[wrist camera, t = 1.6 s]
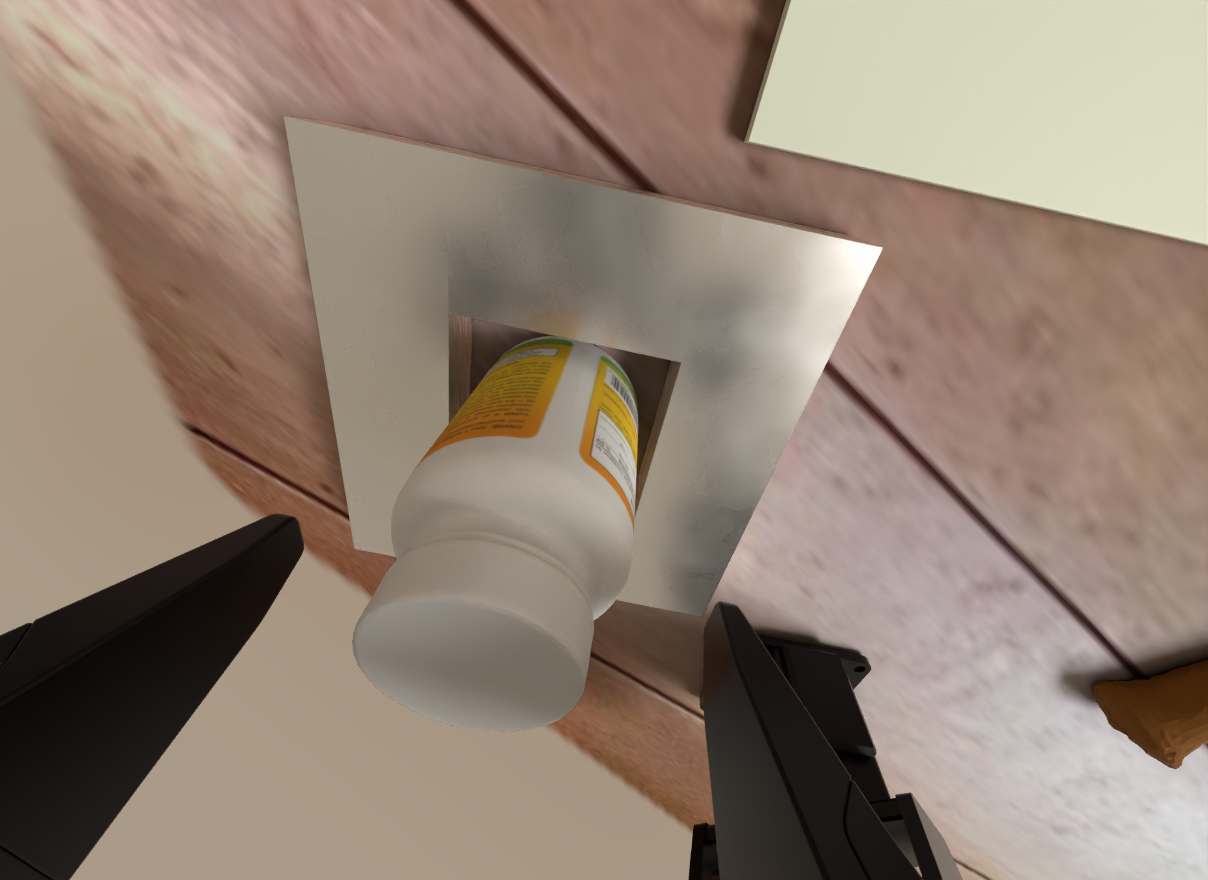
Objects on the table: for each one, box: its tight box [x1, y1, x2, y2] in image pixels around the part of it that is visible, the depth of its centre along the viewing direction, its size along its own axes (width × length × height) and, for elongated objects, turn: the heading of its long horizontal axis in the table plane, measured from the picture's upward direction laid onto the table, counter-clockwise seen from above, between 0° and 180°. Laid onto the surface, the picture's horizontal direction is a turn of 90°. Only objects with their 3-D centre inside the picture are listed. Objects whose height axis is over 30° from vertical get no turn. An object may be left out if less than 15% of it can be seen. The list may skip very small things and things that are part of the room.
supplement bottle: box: [353, 336, 638, 732], centre depth 12 cm, size 5×5×10 cm
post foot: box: [284, 116, 882, 617], centre depth 15 cm, size 14×14×2 cm
